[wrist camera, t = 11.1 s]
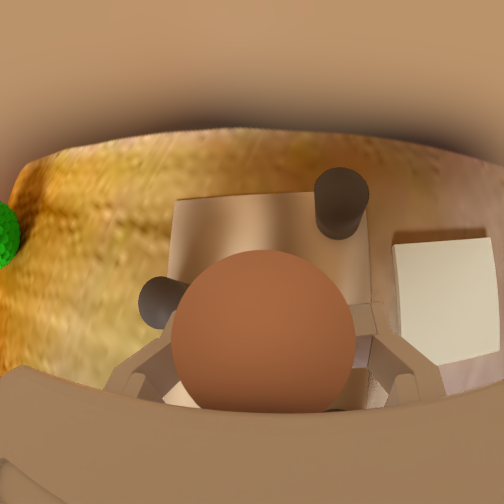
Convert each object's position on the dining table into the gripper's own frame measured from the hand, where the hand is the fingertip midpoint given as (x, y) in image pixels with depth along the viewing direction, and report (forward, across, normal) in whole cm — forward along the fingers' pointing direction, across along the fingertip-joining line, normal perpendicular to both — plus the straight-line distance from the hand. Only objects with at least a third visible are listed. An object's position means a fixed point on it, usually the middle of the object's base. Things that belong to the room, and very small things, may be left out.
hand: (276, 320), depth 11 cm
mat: (+6, -11, +5) cm, 13 cm away
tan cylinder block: (+3, 0, +4) cm, 5 cm away
